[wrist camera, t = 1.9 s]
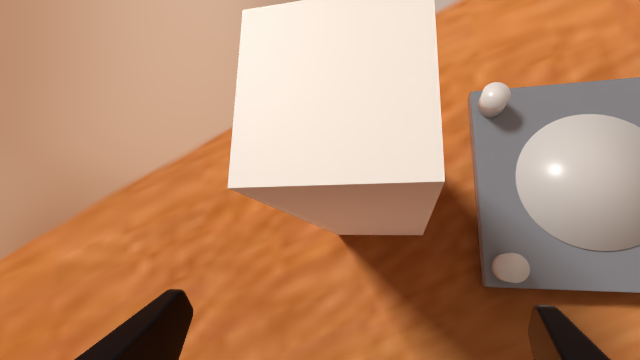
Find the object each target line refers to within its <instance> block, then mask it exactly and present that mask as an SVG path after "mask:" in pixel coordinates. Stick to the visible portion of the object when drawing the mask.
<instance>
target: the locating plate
mask: <svg viewBox="0 0 640 360" xmlns="http://www.w3.org/2000/svg"><path fill="white" fill-rule="evenodd" d="M468 107H469V120H470V133H471V146H472V159H473V171H474V184H475V197H476V210H477V223H478V235H479V248H480V261H481V274H482V286H484V287H499V288H527V289H554V290H582V291H609V292H637V293H640V77H638V78H626V79H614V80H603V81H591V82H580V83H568V84H556V85H545V86H533V87H521V88H510V89H509V88H508V86H506V85H505V84H503V83H499V82H494V83H491V84H489V85H487V86H486V87H485V88H484V90H483V91H475V92H470V95H469V98H468Z"/></svg>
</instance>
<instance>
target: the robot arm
mask: <svg viewBox="0 0 640 360" xmlns="http://www.w3.org/2000/svg"><path fill="white" fill-rule="evenodd" d="M192 317H193V308H192V305H191V303H190V301H189V299H188V297H187V296H186V294H185V292H184V291H183V290H180V289H169V290H167V291H165V292H164V293H163V294H161V295H160V296H159V297H157V298H156V299H155V300H153V301H152V302H151V303H149V304H148V305H147V306H145V307H144V308H143V309H141V310H140V311H139V312H137V313H136V314H135V315H133V316H132V317H131V318H129V319H128V320H127V321H125V322H124V323H123V324H121V325H120V326H119V327H117V328H116V329H115V330H113V331H112V332H111V333H109V334H108V335H107V336H105V337H104V338H103V339H101V340H100V341H99V342H97V343H96V344H95V345H93V346H92V347H91V348H89V349H88V350H87V351H85V352H84V353H83V354H81V355H80V356H79V357H77V358H76V359H75V360H179V357H180V354H181V351H182V348H183V345H184V342H185V339H186V335H187V332H188V329H189V326H190V323H191V320H192ZM528 332H529V340H530V344H531V348H532V353H533V357H534V360H610V359H609V358H608V357H607V356H606V355H605V354H604V353H603V352H602V351H601V350H600V349H599V348H598V347H597V346H596V345H595V344H594V343H593V342H592V341H591V340H590V339H589V338H588V337H587V336H586V335H585V334H584V333H583V332H582V331H580V330H579V329H578V328H577V327H576V326H575V325H574V324H573V323H572V322H571V321H570V320H569V319H568V318H567V317H566V316H565V315H564V314H563V313H562V312H561V311H560V310H559V309H558V308H556V307H554V306H548V305H536V306H534V308H533V310H532V315H531V319H530V324H529V329H528Z"/></svg>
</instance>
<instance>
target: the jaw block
mask: <svg viewBox="0 0 640 360" xmlns="http://www.w3.org/2000/svg"><path fill="white" fill-rule="evenodd" d="M238 61H239V62H238V72H237V84H236V96H235V108H234V119H233V131H232V143H231V155H230V166H229V178H228V188H229V189H231V190H234V191H236V192H238V193H241V194H243V195H245V196H248V197H250V198H252V199H255V200H257V201H259V202H262V203H264V204H267V205H269V206H271V207H274V208H276V209H278V210H281V211H283V212H285V213H288V214H290V215H292V216H295V217H297V218H300V219H302V220H304V221H307V222H309V223H311V224H314V225H316V226H318V227H321V228H323V229H325V230H328V231H330V232H333V233H335V234H337V235H423V233H424V231H425V229H426V226H427V224H428V221H429V219H430V216H431V214H432V212H433V209H434V207H435V204H436V202H437V199H438V197H439V195H440V192H441V190H442V187H443V185H444V182H445V174H444V157H443V140H442V123H441V106H440V89H439V72H438V55H437V38H436V21H435V5H434V0H303V1H297V2H290V3H284V4H278V5H272V6H265V7H259V8H253V9H246V10H243V13H242V25H241V37H240V50H239V60H238Z"/></svg>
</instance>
